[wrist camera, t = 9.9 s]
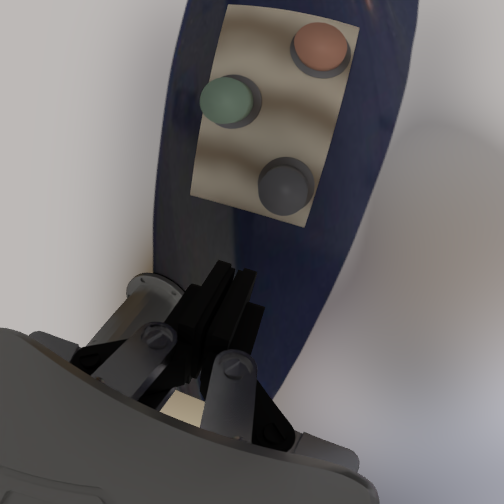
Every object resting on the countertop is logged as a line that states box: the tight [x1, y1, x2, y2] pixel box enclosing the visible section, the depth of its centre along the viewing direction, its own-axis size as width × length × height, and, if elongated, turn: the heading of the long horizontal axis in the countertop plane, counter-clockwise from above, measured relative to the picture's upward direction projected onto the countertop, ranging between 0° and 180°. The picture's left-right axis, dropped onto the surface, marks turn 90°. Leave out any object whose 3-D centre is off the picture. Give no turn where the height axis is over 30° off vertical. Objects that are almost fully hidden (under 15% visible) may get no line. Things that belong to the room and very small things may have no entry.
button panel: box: [190, 4, 359, 227], centre depth 24 cm, size 22×13×3 cm, turn 168°
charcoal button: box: [258, 164, 308, 216], centre depth 25 cm, size 4×4×2 cm
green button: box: [200, 77, 253, 124], centre depth 22 cm, size 4×4×2 cm
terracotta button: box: [294, 22, 347, 71], centre depth 18 cm, size 4×4×2 cm
